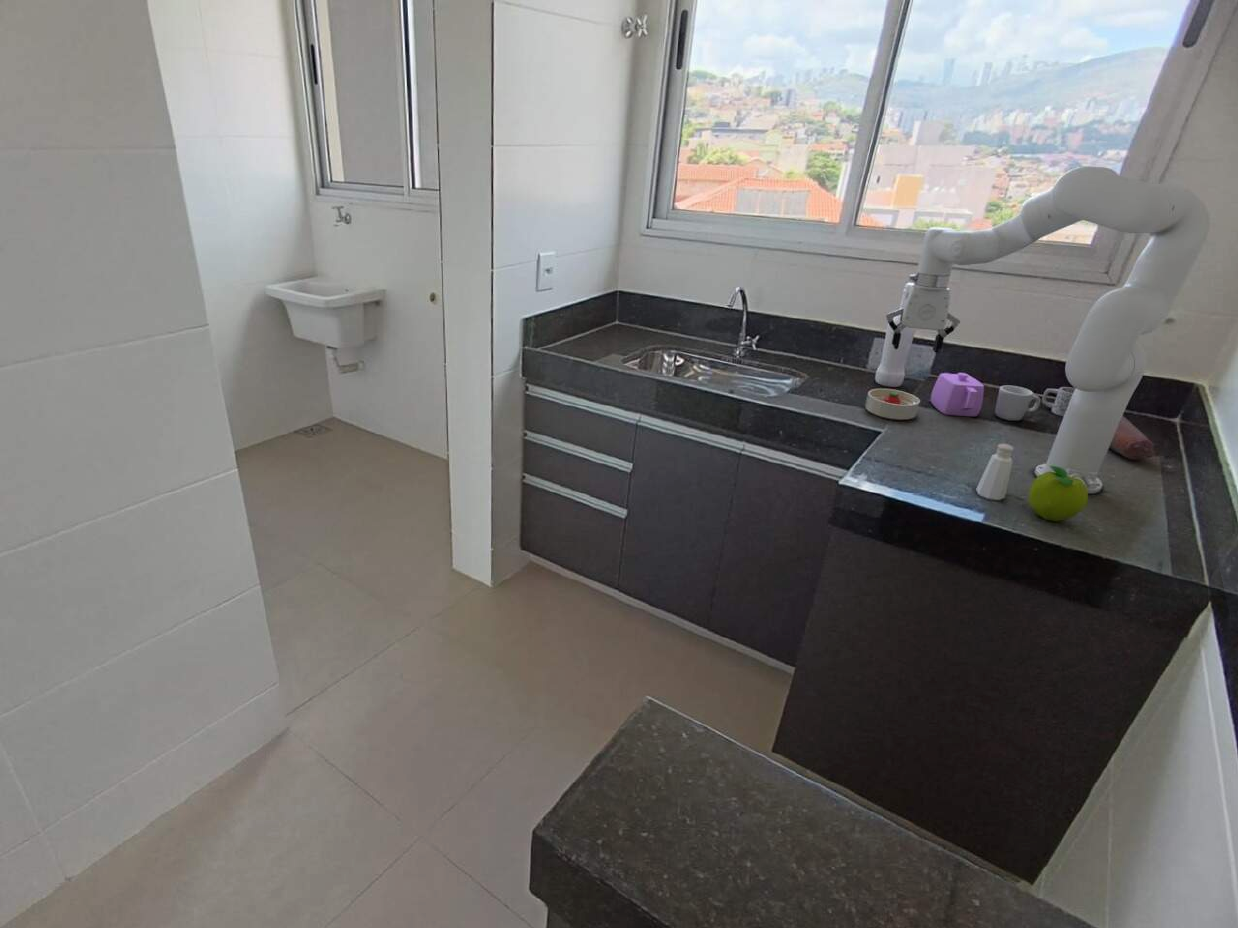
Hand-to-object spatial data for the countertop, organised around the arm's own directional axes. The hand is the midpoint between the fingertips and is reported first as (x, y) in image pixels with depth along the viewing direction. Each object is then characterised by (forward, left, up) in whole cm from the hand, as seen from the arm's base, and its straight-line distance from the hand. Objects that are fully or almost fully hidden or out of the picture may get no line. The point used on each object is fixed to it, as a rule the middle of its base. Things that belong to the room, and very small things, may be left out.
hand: (915, 349), depth 168 cm
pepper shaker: (-43, -12, -18) cm, 48 cm away
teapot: (+11, -16, -18) cm, 27 cm away
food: (-3, -49, -18) cm, 52 cm away
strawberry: (+2, +2, -17) cm, 18 cm away
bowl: (+1, +2, -18) cm, 18 cm away
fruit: (-50, -21, -18) cm, 57 cm away
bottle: (+28, -1, -18) cm, 34 cm away
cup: (+9, -31, -18) cm, 37 cm away
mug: (+20, -46, -18) cm, 54 cm away
